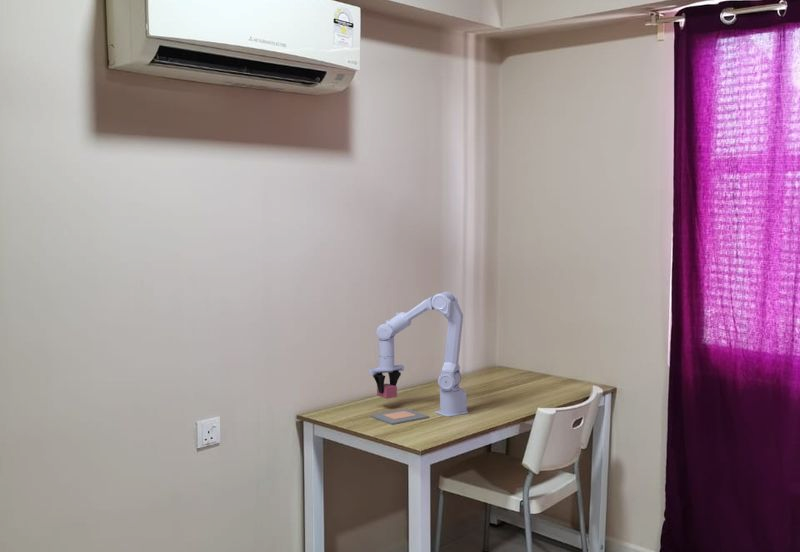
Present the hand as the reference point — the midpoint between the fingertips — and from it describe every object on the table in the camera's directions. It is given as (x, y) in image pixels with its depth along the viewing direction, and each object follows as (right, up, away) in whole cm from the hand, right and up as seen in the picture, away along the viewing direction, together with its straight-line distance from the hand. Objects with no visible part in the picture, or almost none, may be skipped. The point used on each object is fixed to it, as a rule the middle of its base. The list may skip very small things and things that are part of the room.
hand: (386, 391), depth 298 cm
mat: (+5, -7, -13) cm, 16 cm away
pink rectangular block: (0, -2, 0) cm, 2 cm away
